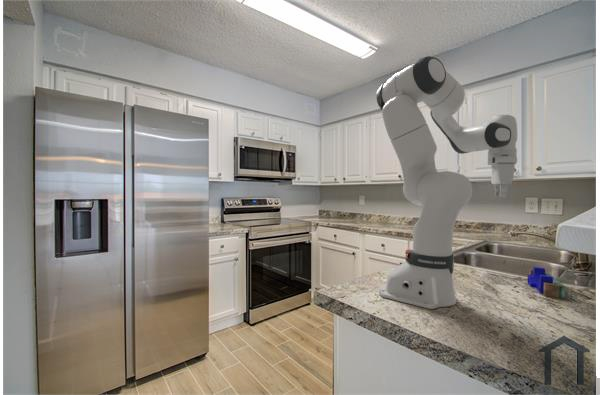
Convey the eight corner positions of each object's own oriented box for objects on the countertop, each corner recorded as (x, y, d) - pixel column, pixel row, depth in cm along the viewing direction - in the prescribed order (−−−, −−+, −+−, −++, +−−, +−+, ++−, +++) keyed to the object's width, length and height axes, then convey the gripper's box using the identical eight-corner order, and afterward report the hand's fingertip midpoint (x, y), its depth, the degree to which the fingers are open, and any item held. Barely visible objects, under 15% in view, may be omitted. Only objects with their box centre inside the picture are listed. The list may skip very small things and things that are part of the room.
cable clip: (527, 282, 104) (528, 266, 103) (543, 284, 101) (544, 268, 101) (534, 293, 93) (535, 275, 93) (552, 295, 91) (553, 277, 91)
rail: (544, 296, 90) (545, 283, 90) (529, 279, 106) (529, 268, 106) (564, 299, 88) (565, 286, 88) (545, 281, 104) (545, 270, 104)
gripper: (487, 162, 118) (486, 195, 118) (496, 157, 99) (494, 197, 100) (506, 161, 115) (504, 195, 115) (518, 157, 97) (516, 197, 97)
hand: (500, 196), depth 108 cm, fingers open, 8 cm apart
